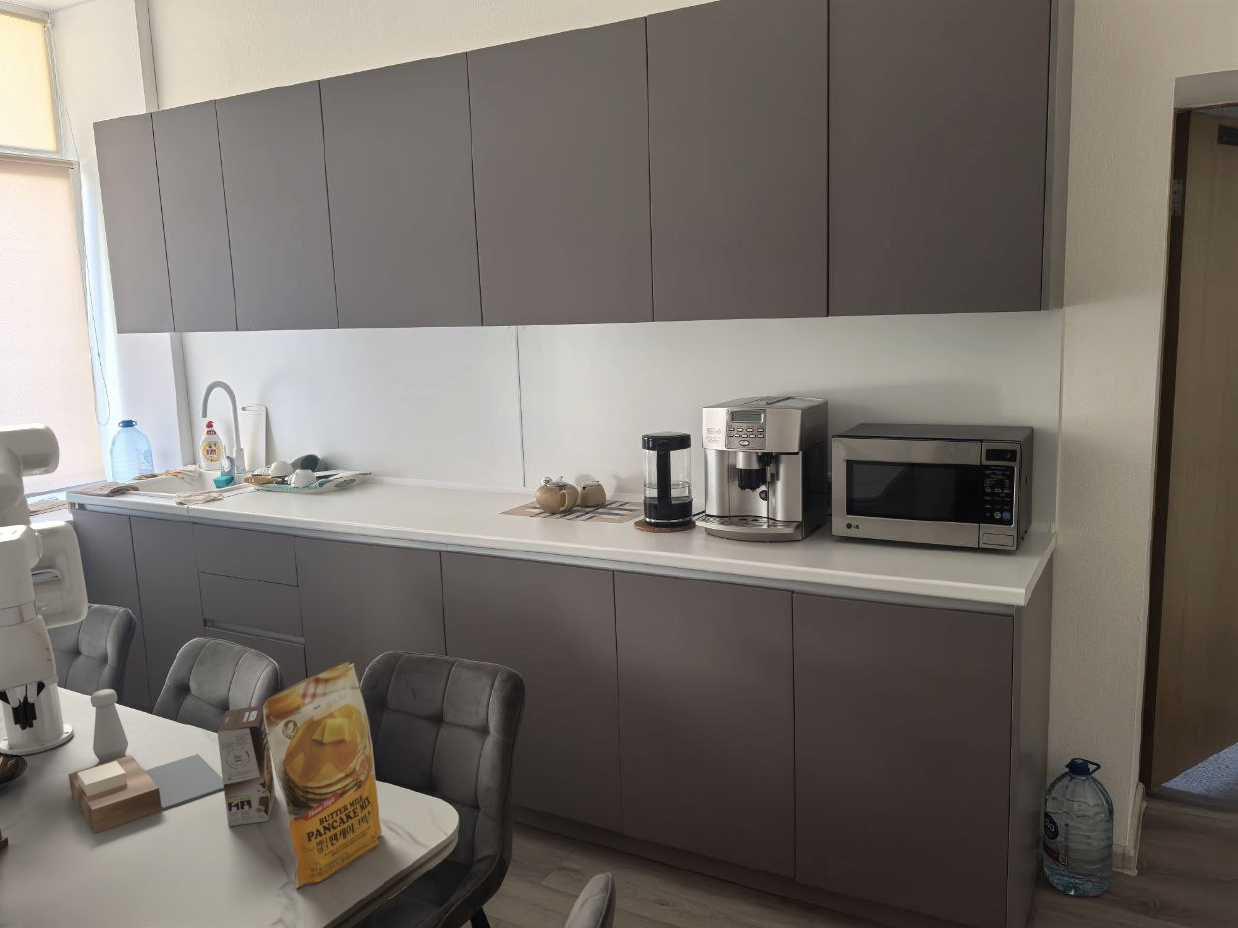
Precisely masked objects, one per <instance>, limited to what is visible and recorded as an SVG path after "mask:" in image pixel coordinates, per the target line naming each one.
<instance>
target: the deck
mask: <svg viewBox="0 0 1238 928" xmlns="http://www.w3.org/2000/svg"><path fill="white" fill-rule="evenodd" d="M114 761H117V762H118V764H119V765H120V766H121V767H122V769H123V770H124V771H125V772H126V779H127V784H125V785H122V786H119V787H115V788H112V789H109V790H106V791H103V792H100V793H97V794H94V795H90V796H87V795H86V794H85V792H84V791H83V789H82V788H81V786H80V785H79V781H78V774H77V773H78V772H81V771H85V770H88V769H91V768H94V767H98V766H101V765H104V764H108V763H111V762H114ZM68 778H69V779H68V781H69V787H70V794H71V797H72V799H73V800H74V802H75V804H76V805H77V807H78V808H79V810H80V811H81V813H82V814H83V816H84V817H85V820H86V821H87V822H88V823H89V825H90V827H91V828H92V830H93V832H94V833H95V834H97V833H101V832H104V831H106V830H109V829H112V828H115V827H118V826H120V825H123V824H126V823H129V822H133V821H135V820H138V819H141V818H144V817H147V816H150V815H153V814H156V813H158V812H162V811H163V809H162V806H161V798H160V791H159V787H158V786H157V785H156V784H155V782H154V781H153V780H152V779H151V778H150V777H149V775H148V774H147V773H146V772H145V769H144V768H143V767H142V765H140V764H139V762H138V761H137V760H136V759H135V758H134V756H133V755H132V754H130V755H127V756H126V755H125V756H124V757H123V758H120V759H116V760H113V761H110V762H106V763H100V764H97V765H94V766H91V767H87V768H83V769H80V770H77V771H73V772H70V773H68Z"/></svg>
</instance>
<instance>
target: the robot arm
mask: <svg viewBox="0 0 1238 928" xmlns="http://www.w3.org/2000/svg"><path fill="white" fill-rule="evenodd" d="M59 463H60V446H59V442H58V439H57V436H56V434H55V433H54V431H53V429H51V428H50V427H49V426H47V425H46V424H42V423H29V424H18V425H17V424H15V425H4V426H0V701H1V706H2V707H1V708H2V715H3V719H4V720H3V721H4V724H5V727H4V728H5V732H6V736H5V737H4V738H2V740H0V753H1V754H3V753H7V754H13V755H18V756H27V755H34V754H37V753H38V754H39V753H41V752H45V751H48V750H51V749H54V748H56V747H58V746H60V745H63V744H64V743H66V742H68V741H69V740H70V739H71V738H73V736H74V727H73V725H71V724H69V723H64V720H63V714H62V706H61V700H60V693H59V688H58V686H59V685H58V682H60V678H59V676H58V673H57V667H56V666H57V665H56V660H55V655H54V654H55V653H54V650H53V645H52V643H51V642H52V641H51V637H50V635H49V633H48V630H49V629H53V628H58V627H59V628H60V627H63V626H69V625H73V624H77V623H80V622H82V621H83V620H84V619H85V618H86V616H87V615H88V611H89V601H88V593H87V589H86V588H87V587H86V581H85V575H84V574H85V573H84V568H83V562H82V556H81V549H80V545H79V540H78V539H79V538H78V535H77V534H76V531H75V528H74V527H73V526H72V525H71V524H70V523H69V522H67V521H63V520H49V521H43V522H42V521H40V522H35V523H34V522H32V521H31V518H30V512H29V504H28V500H27V498H26V496H25V487H24V486H25V485H24V480H23V479H24V478H25V477H34V476H43V475H44V476H45V475H49V474H52V473H55V471H56V470H58V467H59ZM23 477H24V478H23ZM43 572H53V573H56V574H57V576H55V577H49V578H42V579H35V580H33V577H32V574H38V573H43Z"/></svg>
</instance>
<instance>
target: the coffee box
mask: <svg viewBox="0 0 1238 928" xmlns="http://www.w3.org/2000/svg"><path fill="white" fill-rule="evenodd" d="M262 707H263V705H257V706H256V705H255V706H249V707H244V708H243V707H242V708H239V709H231V710H226V711H225V713H224V715H223V718H222V720H221V722H220V724H219V727H218V730H217V739H218V749H219V756H220V757H219V759H220V766H221V768H220V769H221V774H222V776H221V777H222V778H223V785H224V790H223V791H224V800H225V802H224V803H225V808H226V817H227V826H228V827H232V826H233V827H234V826H241V825H248V824H257V823H262V822H263V823H265V822H268V821H269V820H270V815H271V811H272V808H273V804H274V802H275V801H274V800H275V797H276V790H275V780H274V779H275V778H274V771H273V762H272V753H271V749H270V746H269V744H268V741H267V737H266V732H265V727H264V722H263V714H262Z"/></svg>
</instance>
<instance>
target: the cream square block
mask: <svg viewBox="0 0 1238 928" xmlns="http://www.w3.org/2000/svg"><path fill="white" fill-rule="evenodd" d="M77 774H78V781H79V785H80V786H81V788H82V789H83V791H84V792H85V794H86V795H87V796H90V795H94V794H97V793H100V792H103V791H106V790H109V789H112V788H115V787H119V786H122V785H125V784H127V779H126V772H125V771H124V770H123V769H122V767H121V766H120V765H119V764H118V762H117V761H114V762H111V763H108V764H104V765H101V766H98V767H94V768H91V769H88V770H85V771H81V772H78V773H77Z"/></svg>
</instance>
